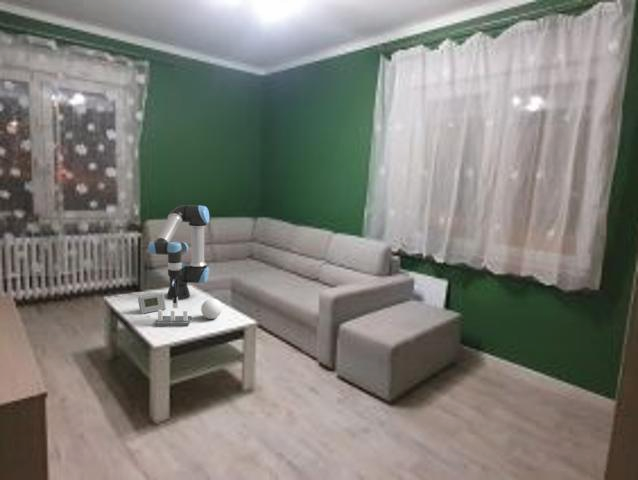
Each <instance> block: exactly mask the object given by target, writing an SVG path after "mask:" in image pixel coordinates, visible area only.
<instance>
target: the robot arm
mask: <svg viewBox="0 0 638 480" xmlns="http://www.w3.org/2000/svg"><path fill="white" fill-rule="evenodd" d="M209 222H210V212H209V209H208V207H207V206H205V205H200V204H199V205H194V204H193V205H191V204H183V205H179V206H177V207H176V208H174V209H173V210H172V211H170V212H169V214H168V215H167V220H166V222H165V224H164V225H163V227H162V230H160V233H159V234H158V237H157V238H156V240H155V241H150V242H149V243H148V247H147V250H148V253H149V254H151V255H165V256H167V263H166V265H167V276H168V277H169V287H168V290H167V293H166V298H167V299H169V300H172V309H178V308H179V300H185V299H188V298H189V297H190V296H191V295H190V294H191V293H190V292H191V291H190V290H189V287H188V284H206V283H207V281H208V280H209V276H210V267H209V266H207V263H206V262H205V228H206V227H207V224H209ZM182 223H188V226H189V227H190V231H191V239H190V240H191V249H190V250H191V262H190V263H189V264H187V263H185V262H182V256H184V255H185V254H186V253H188V251H189V245H188V243H186V242H184V241H179V242H178V241H172V242H171V240H172V239H173V237H174V235H175V233H176V231H177V229H178V227H179V226H180V225H181V224H182Z"/></svg>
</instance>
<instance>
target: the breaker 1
mask: <svg viewBox="0 0 638 480" xmlns="http://www.w3.org/2000/svg"><path fill="white" fill-rule="evenodd" d="M163 312H164V310H158V311H157V320H158V321H162V320H163V316H164V315H163Z"/></svg>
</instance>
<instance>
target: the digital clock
mask: <svg viewBox="0 0 638 480" xmlns="http://www.w3.org/2000/svg"><path fill="white" fill-rule="evenodd" d="M137 300H138V306H139V313H140V314H141V315H143V314H151V313H156V312H157V313H158V310H162V311H164V310H166V309H167V305H166V300H165V293H164V292H157V293H151V294H145V295H144V294H143V295H139V296H138V297H137Z"/></svg>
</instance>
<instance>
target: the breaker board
mask: <svg viewBox="0 0 638 480" xmlns="http://www.w3.org/2000/svg"><path fill="white" fill-rule="evenodd" d="M191 321H192V315H188V320H187V321H183V315H175V321H171V315H163V320H162V321H158V319H157V320H156V321H155V323H154V326H155V328H157V327H158V328H159V327H161V328H163V327H164V328H165V327H170V328H172V327H174V328H175V327H179V328H180V327H181V328H182V327H189V325H190V323H191Z"/></svg>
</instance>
